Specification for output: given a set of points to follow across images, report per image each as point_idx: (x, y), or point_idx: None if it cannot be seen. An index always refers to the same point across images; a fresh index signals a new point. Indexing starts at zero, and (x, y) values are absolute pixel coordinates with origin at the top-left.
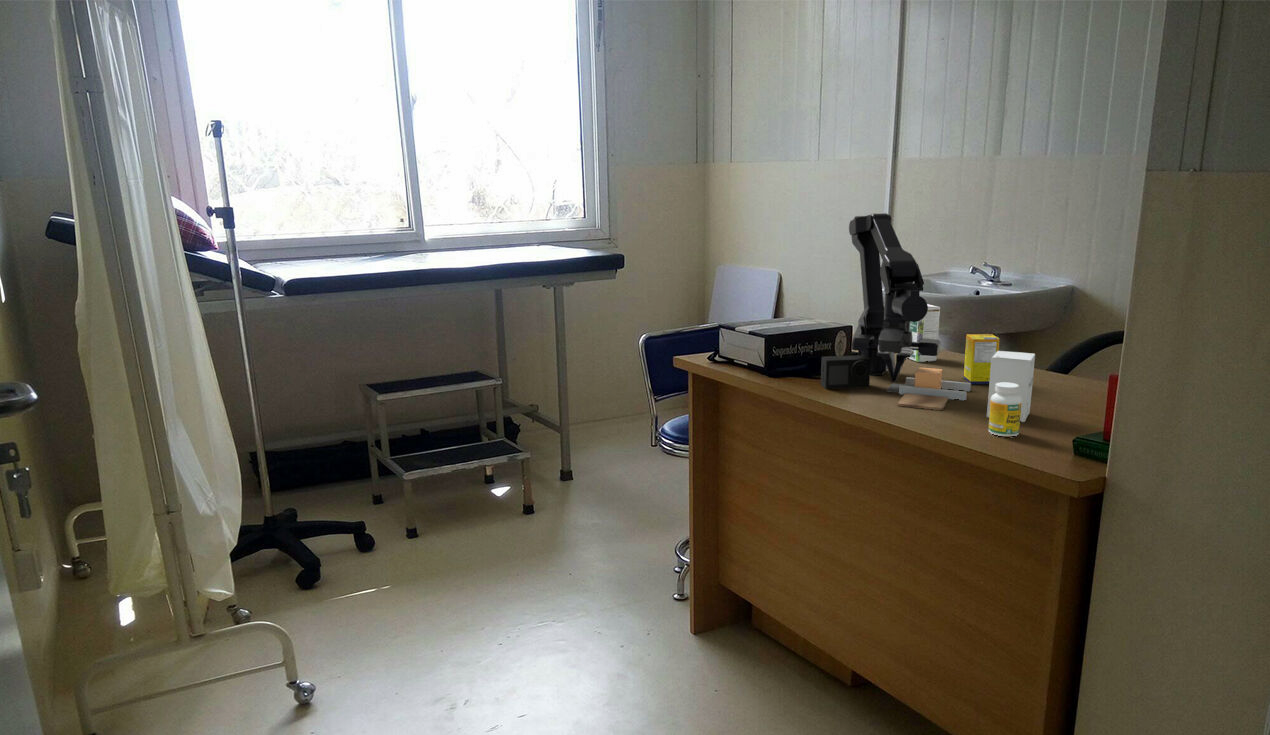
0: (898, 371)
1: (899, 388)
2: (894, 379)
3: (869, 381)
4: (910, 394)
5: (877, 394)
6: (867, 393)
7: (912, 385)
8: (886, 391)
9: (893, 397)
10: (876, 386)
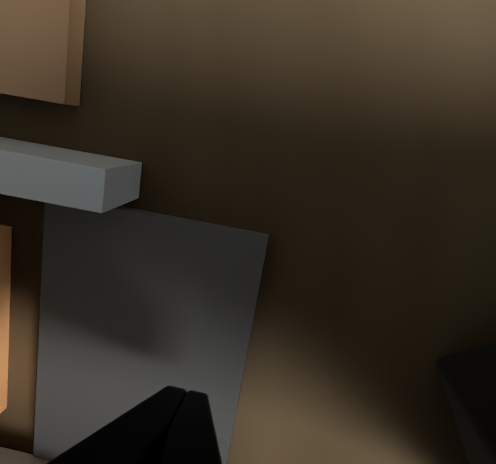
0: (68, 455)
1: (114, 168)
2: (169, 397)
3: (462, 401)
4: (6, 59)
5: (359, 101)
6: (471, 119)
7: (47, 451)
8: (265, 233)
9: (187, 8)
10: (361, 417)
